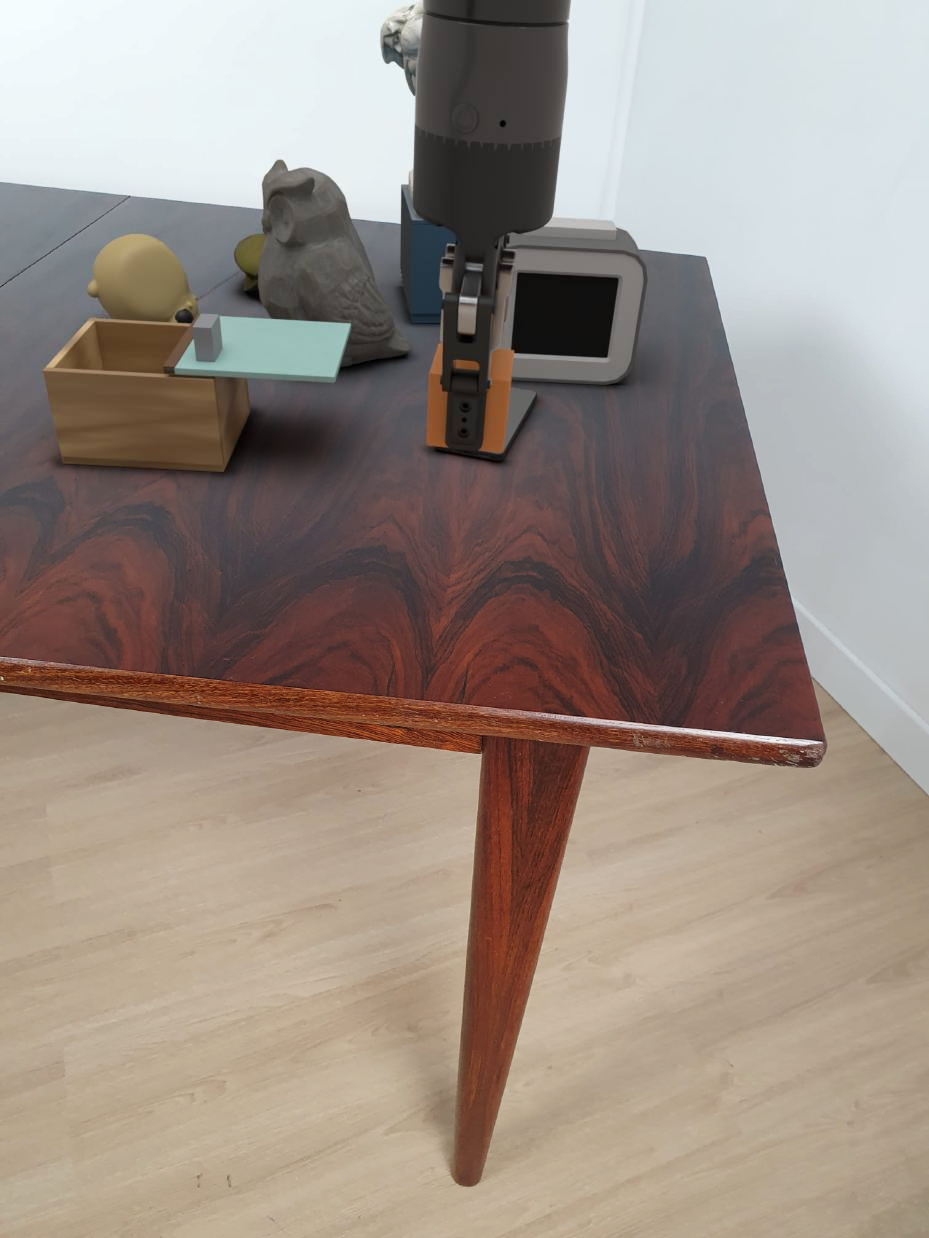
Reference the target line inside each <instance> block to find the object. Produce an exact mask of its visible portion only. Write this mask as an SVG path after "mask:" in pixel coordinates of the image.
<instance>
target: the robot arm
mask: <svg viewBox="0 0 929 1238" xmlns="http://www.w3.org/2000/svg"><path fill="white" fill-rule="evenodd" d="M571 4H572V0H423V9H424V10H425V11H424V12H423V19H422V29H421V36H420V43H419V49H418V57H417V67H416V92H415V96H414V133H413V168H412V169H413V208H414V210H415V212H416V213H417V215H418V216H419V217H420V218H422V219H423V220H424V221H426V222H428V223H430V224H432V225H434V226H437V227H441V226H443V227H446V228H448V229H449V230H451V231H452V232H453V233H454V234H455V235H456V244H447V246H446V255H445V257H442V259H441V265H440V278H439V287H440V289H441V290H442V292H443V299H442V302H441V309H442V313H441V323H440V326H439V327H440V328H439V341H440V343H442V344H443V357H442V375H441V377H440V385H442V391H443V392H448V394H447V413H446V432H445V443H446V445H447V447H449V448H451V449H457V450H467V451H478V450H479V449H481V447H482V444H483V437H484V424H485V412H486V399H487V393H488V391H489V389H490V387H491V386H492V378H490V371H491V360H492V353H493V351H495V350H497V349H498V348H499V347H500V346H501V344H502V339H503V329H504V322H505V321H506V317H507V310H508V300H509V295H510V294H511V292H512V283H513V280H514V273H515V266H516V253H517V250H513V249H507V243H508V244H509V242H510V235H508V233H512V232H514V233H517V234H522V233H527V232H532V231H535V230H537V229H540V228H542V227H543V226H545V225H546V224H547V223H548V222H549V221H550V220H551V218H552V217H553V215H554V211H555V210H554V209H555V201H556V191H557V183H558V174H559V164H560V155H561V145H562V137H563V130H564V129H563V128H564V119H565V110H566V103H567V102H566V101H567V92H568V82H569V27H570V23H569V22H568V21H569V20H570V14H571V6H572V5H571ZM457 360H465V361H475V362H477V363H478V364H479V370H472V369H461V368H456V363H457Z"/></svg>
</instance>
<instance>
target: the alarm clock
mask: <svg viewBox="0 0 929 1238" xmlns="http://www.w3.org/2000/svg"><path fill="white" fill-rule="evenodd" d="M508 235H510V242H509V244H508V243H507V249H513V250H517V253H516V266H515V273H514V280H513V283H512V292H511V294H510V295H509V300H508V310H507V317H506V321H505V322H504V329H503V339H502V344H501V346H500V347H499V348H498V349H506V350H514V358H513V369H512V379H511V381H517V382H518V381H520V382H540V383H559V384H560V383H561V384H577V385H578V384H579V385H581V384H582V385H597V386H605V385H606V386H607V385H611V384H617V383H620V381H622V380H623V379H624V378H625V377H627V376H628V375H629V374H630V372H631V370H632V368H633V365H634V363H635V361H636V354H637V347H638V341H639V335H640V330H641V323H642V318H643V311H644V305H645V299H646V292H647V288H648V287H647V286H648V280H649V279H648V270H647V265H646V262H645V260H644V258H643V256H642V253H641V251H640V249H639V247H638V245H637V242H636V240H635V239H634V238H633V236H632V235H631V234H630V233H629V231H628V230H625V229H623V228H620V227H617V226H616V225H615V222H614V221H613V220H609V219H593V218H574V217H572V218H571V217H555V216H552V218H551V220H550V221H549V222H548V223H547V224H546V225H545V226H543V227H542V228H540V229H537V230H535V231H532V232H527V233H522V234H517V233H514V232H512V233H508Z"/></svg>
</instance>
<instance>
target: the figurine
mask: <svg viewBox="0 0 929 1238" xmlns="http://www.w3.org/2000/svg"><path fill="white" fill-rule="evenodd" d="M261 191H262V209H263V210H262V217H261V226H262V234H265V236H266V238H265V243H264V246H263V249H262V252H261V255H260V258H259V270H258V288H259V289H258V293H259V299H260V302H261V304H262V307H263V308H264V309H265V311H266V313H267V314H268V316H269V317H270V319H281V320H298V321H316V322H333V323H350V324H351V331H350V334H349V338H348V341H347V344H346V348H345V351H344V354H343V358H342V361H341V364H340V368H344V367H349V366H352V365H356V364H361V363H365V362H368V361H374V360H380V359H388V358H393V357H394V358H395V357H398V356H399V357H400V356H403V355H406V354H408V353H409V351H410V343H409V341H408V339H407V338H406V335H404V333H402V332H401V330H400V329H398V328H397V327H396V324H395V322H394V316H393V314H392V312H391V309H390V308H389V306H388V303H387V301H386V298H385V297H384V295H383V294H382V293H381V291H380V289H379V287H378V284H377V283H376V280H375V275H374V270H373V267H372V265H371V261H370V260H369V257H368V254H367V252H366V251H367V250H366V249H365V246H364V243H363V242H362V240H361V238H360V235H359V233H358V231H357V228H356V227H355V225H354V223H353V220H352V217H351V214H350V211H349V208H348V206H349V205H348V202H347V198H346V196H345V194H344V192H343V191H342V189H341V188H340V186H339V185H338V184H337V183H336V182H335V180H333V179H332V178H331V177H330V176H329V175H327V174H326V173H324V172H322V171H319V170H317V169H314V168H311V167H307V166H306V167H298V168H293V169H291V170H289V169H288V166H287V164H286V162H285V161H284V160H283V159H281V158H280V159H276V160H275V161H274V163H273V165H272V166H271V168H270V169H269V170H268V171H267V172H266V173H265V174H264V176H263V179H262V182H261Z"/></svg>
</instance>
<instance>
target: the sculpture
mask: <svg viewBox="0 0 929 1238" xmlns="http://www.w3.org/2000/svg"><path fill="white" fill-rule="evenodd" d="M424 11H425V10H424V9H423V0H417V2H416V3H414V4H406V5H403V6H401V7H400V8H398V9H396V10H395V11H393V12H392V13H390V15H389V16H388V17H387V18H386V20H384V21H383V23H382V25H381V28H380V32H379V33H380V34H379V37H380V38H379V39H380V40H379V43H380V50H381V51H380V52H381V57H382V60H383V62H384V64H386V65H390V64H391V63H393V62H394V63H395V64H396V65H397V66H398V67H399V68H401V69H402V70H403V72H404V77H405V80H406V84H407V87H408V89H409V91H410V93H411V95H412V96H413V97H415V92H416V67H417V57H418V49H419V43H420V36H421V29H422V19H423V12H424ZM447 244H456V235H455V234H454V233H453V232H452V231H451V230H449V229H448V228H446V227H443V226H441V227H437V226H434V225H432V224H430V223H428V222H426V221H424V220H423V219H422V218H420V217H419V216H418V215H417V213H416V212H415V210H414V208H413V168H412V169H410V170H409V171H408V184H407V183H406V184H403V183H402V184H401V185H400V249H399V251H400V255H399V257H400V258H399V259H400V260H399V261H400V263H399V270H400V269H401V272H400V275H401V274H402V276H401V283H402V287H403V292H404V297H405V300H406V304H407V308H408V313H409V317H410V321H411V324H441V313H442V309H441V302H442V299H443V292H442V290H441V289H440V287H439V278H440V265H441V259H442V257H445V255H446V246H447ZM402 279H403V280H402ZM403 284H404V285H403Z"/></svg>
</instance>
